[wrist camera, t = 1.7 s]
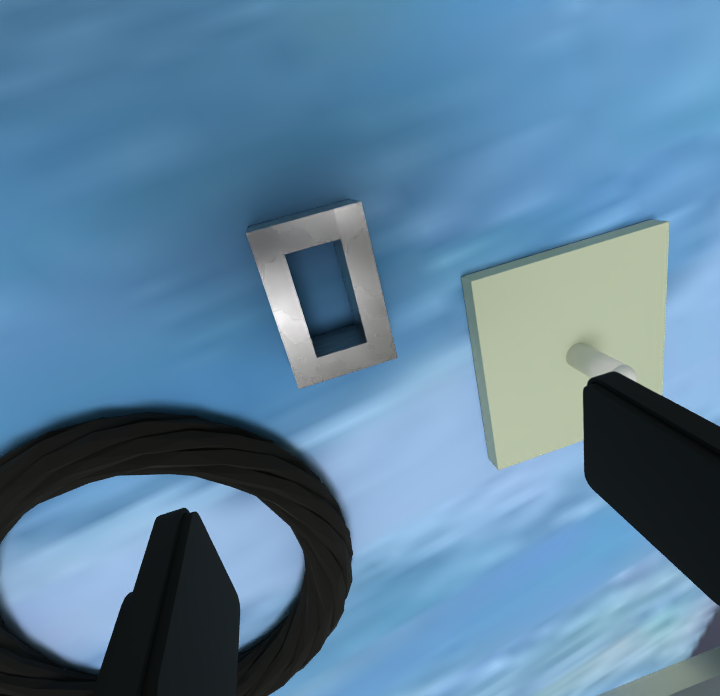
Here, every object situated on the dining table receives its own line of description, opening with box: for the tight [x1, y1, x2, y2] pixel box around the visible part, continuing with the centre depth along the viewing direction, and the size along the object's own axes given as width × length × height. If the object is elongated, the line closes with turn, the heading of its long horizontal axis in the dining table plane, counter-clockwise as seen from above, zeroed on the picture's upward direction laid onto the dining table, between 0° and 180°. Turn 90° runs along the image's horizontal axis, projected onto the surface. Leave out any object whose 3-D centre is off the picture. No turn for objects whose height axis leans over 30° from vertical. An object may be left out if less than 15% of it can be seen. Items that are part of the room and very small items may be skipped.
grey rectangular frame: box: [246, 199, 397, 389], centre depth 25 cm, size 9×6×4 cm, turn 14°
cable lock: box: [0, 412, 353, 696], centre depth 30 cm, size 28×4×30 cm
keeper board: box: [461, 220, 669, 470], centre depth 29 cm, size 15×14×6 cm
